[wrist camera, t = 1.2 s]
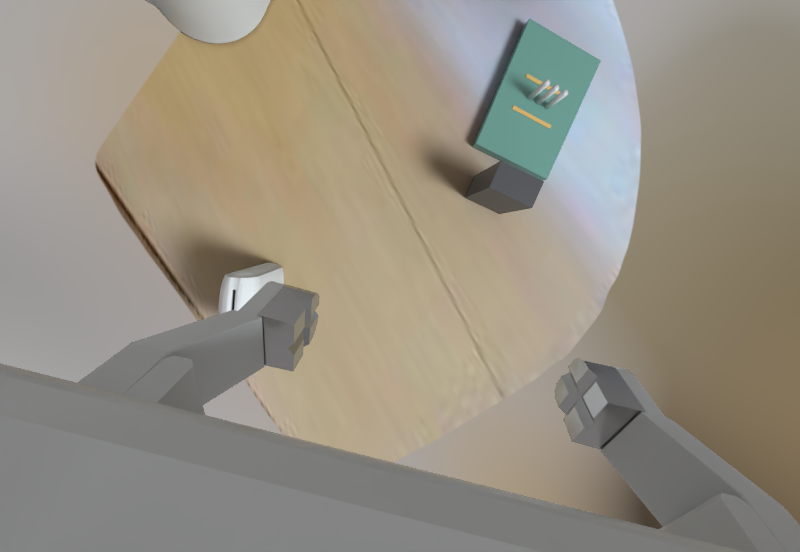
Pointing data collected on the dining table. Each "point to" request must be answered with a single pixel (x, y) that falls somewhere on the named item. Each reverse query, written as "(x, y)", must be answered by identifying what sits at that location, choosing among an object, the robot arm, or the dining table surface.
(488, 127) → the teal plate
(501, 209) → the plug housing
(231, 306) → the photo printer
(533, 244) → the dining table surface
